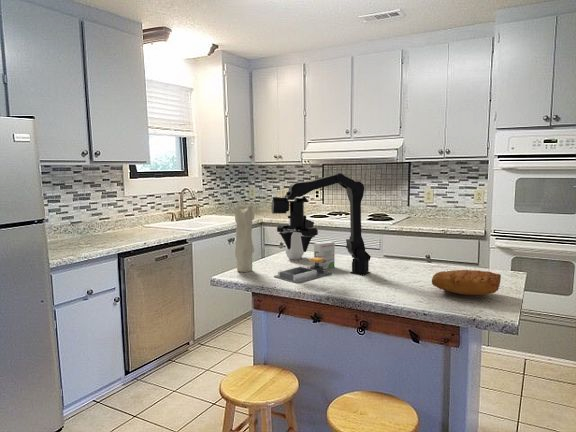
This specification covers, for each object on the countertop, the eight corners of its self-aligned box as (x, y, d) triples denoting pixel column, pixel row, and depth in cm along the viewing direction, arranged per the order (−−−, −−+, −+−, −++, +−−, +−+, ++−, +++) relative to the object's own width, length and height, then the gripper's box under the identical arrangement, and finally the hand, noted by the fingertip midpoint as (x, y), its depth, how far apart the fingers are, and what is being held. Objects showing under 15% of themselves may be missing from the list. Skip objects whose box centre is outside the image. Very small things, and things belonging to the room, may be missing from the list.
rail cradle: (332, 273, 180) (332, 267, 180) (297, 283, 166) (297, 276, 166) (308, 268, 190) (308, 263, 190) (274, 277, 176) (273, 271, 176)
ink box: (328, 265, 196) (328, 240, 195) (335, 267, 192) (335, 242, 191) (313, 268, 192) (313, 242, 190) (320, 270, 188) (320, 244, 186)
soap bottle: (291, 255, 220) (290, 200, 217) (308, 257, 215) (308, 200, 212) (278, 260, 209) (277, 202, 206) (296, 262, 204) (295, 202, 201)
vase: (258, 270, 189) (256, 203, 186) (245, 274, 182) (244, 205, 179) (243, 267, 194) (241, 203, 190) (230, 271, 187) (229, 204, 183)
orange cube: (323, 266, 184) (323, 258, 183) (317, 268, 181) (317, 260, 180) (316, 265, 187) (316, 257, 186) (309, 266, 184) (309, 258, 183)
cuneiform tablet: (503, 293, 150) (504, 271, 149) (495, 305, 136) (496, 281, 136) (440, 283, 163) (441, 263, 162) (426, 294, 149) (427, 272, 148)
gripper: (326, 213, 172) (326, 250, 173) (294, 210, 185) (294, 245, 187) (308, 215, 164) (308, 254, 166) (276, 212, 177) (276, 248, 179)
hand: (296, 250), depth 174 cm, fingers open, 9 cm apart
